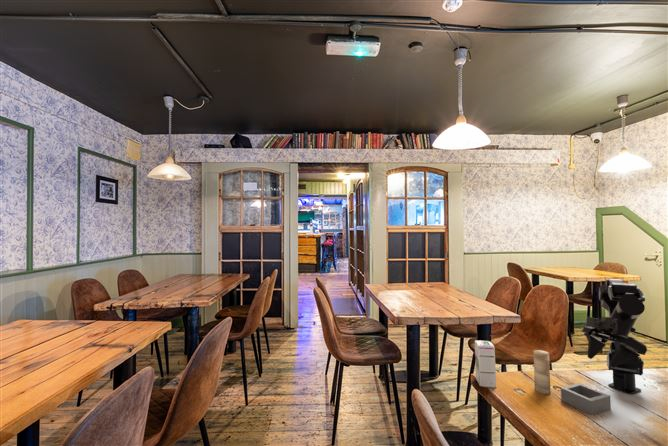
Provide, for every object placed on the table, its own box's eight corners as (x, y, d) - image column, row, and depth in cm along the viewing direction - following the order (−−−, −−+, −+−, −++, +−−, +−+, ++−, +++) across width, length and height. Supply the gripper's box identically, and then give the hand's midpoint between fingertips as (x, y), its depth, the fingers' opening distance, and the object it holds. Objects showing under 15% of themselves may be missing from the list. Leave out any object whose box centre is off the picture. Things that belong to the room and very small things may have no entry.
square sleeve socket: (579, 395, 104) (579, 383, 104) (610, 409, 96) (610, 395, 96) (561, 400, 101) (560, 387, 101) (591, 414, 92) (591, 401, 93)
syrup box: (497, 388, 109) (495, 346, 110) (478, 386, 110) (477, 344, 111) (492, 380, 115) (491, 340, 116) (475, 379, 116) (474, 339, 117)
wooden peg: (540, 386, 110) (539, 349, 111) (553, 392, 106) (552, 353, 106) (531, 388, 108) (530, 351, 109) (544, 395, 104) (542, 355, 105)
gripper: (578, 303, 111) (557, 341, 110) (622, 310, 93) (598, 355, 92) (608, 320, 110) (587, 359, 109) (659, 331, 91) (635, 378, 90)
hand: (599, 362), depth 100 cm, fingers open, 9 cm apart
